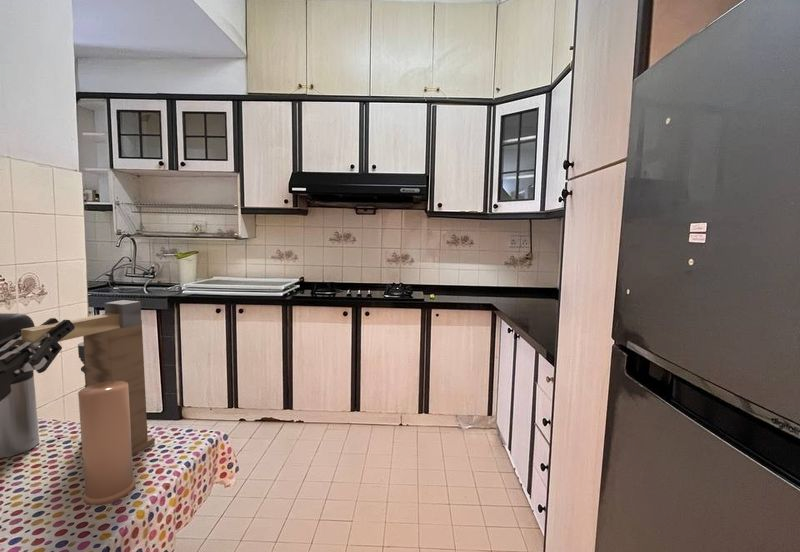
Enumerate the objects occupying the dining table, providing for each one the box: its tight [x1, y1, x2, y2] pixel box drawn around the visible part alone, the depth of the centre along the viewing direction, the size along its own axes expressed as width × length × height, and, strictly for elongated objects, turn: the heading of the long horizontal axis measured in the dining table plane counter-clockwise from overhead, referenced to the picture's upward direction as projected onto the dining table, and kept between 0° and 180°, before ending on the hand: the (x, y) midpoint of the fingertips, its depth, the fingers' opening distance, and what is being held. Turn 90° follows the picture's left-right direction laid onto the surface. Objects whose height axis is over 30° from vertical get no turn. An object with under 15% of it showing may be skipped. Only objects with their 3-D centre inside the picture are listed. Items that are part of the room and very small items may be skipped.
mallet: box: [21, 299, 143, 347], centre depth 75 cm, size 5×19×5 cm, turn 164°
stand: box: [82, 319, 156, 458], centre depth 94 cm, size 10×10×33 cm
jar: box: [77, 381, 136, 506], centre depth 80 cm, size 9×9×22 cm
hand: (63, 322), depth 71 cm, fingers closed on mallet, 2 cm apart
